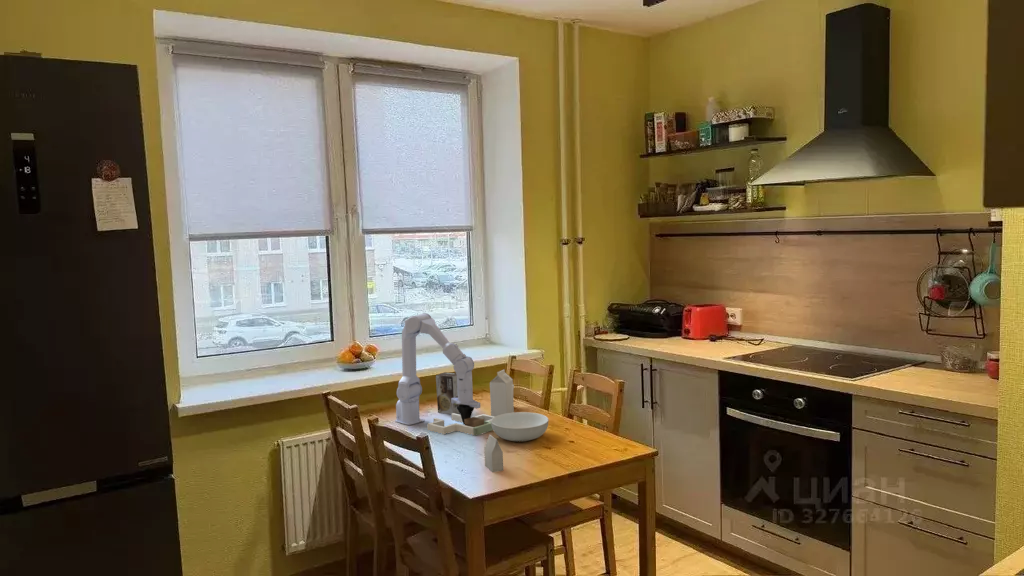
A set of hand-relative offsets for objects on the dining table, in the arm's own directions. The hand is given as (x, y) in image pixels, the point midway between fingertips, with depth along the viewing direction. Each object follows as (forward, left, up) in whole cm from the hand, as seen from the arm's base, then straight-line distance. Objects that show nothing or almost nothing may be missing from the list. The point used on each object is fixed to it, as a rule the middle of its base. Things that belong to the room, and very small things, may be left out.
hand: (466, 424), depth 272 cm
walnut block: (+4, 0, -1) cm, 5 cm away
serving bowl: (+26, +3, -2) cm, 26 cm away
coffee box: (-23, +12, -2) cm, 26 cm away
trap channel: (-1, 0, -1) cm, 2 cm away
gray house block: (+42, -26, -2) cm, 49 cm away
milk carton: (+1, +19, -2) cm, 19 cm away
